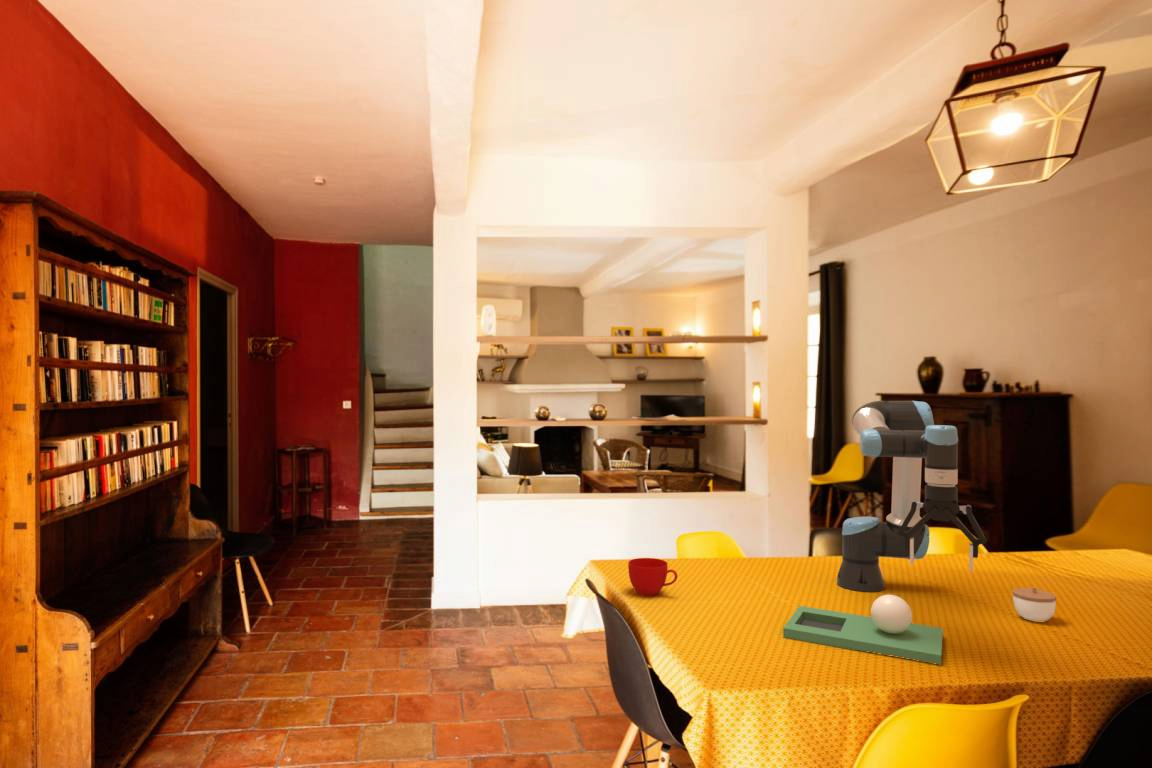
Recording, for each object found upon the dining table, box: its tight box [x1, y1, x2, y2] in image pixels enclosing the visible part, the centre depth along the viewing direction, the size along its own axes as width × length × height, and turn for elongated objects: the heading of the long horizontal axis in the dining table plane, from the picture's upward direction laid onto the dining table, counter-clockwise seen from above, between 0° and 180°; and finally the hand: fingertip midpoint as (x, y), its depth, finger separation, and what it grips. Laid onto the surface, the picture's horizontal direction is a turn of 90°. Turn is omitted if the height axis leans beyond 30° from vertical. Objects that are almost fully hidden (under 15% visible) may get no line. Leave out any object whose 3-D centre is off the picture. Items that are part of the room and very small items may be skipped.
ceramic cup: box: [627, 557, 678, 597], centre depth 225 cm, size 13×17×10 cm
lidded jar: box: [1012, 586, 1057, 622], centre depth 202 cm, size 11×11×9 cm
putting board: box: [782, 605, 944, 665], centre depth 187 cm, size 38×22×2 cm, turn 61°
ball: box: [870, 594, 913, 634], centre depth 183 cm, size 10×10×10 cm
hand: (940, 566), depth 178 cm, fingers open, 13 cm apart
